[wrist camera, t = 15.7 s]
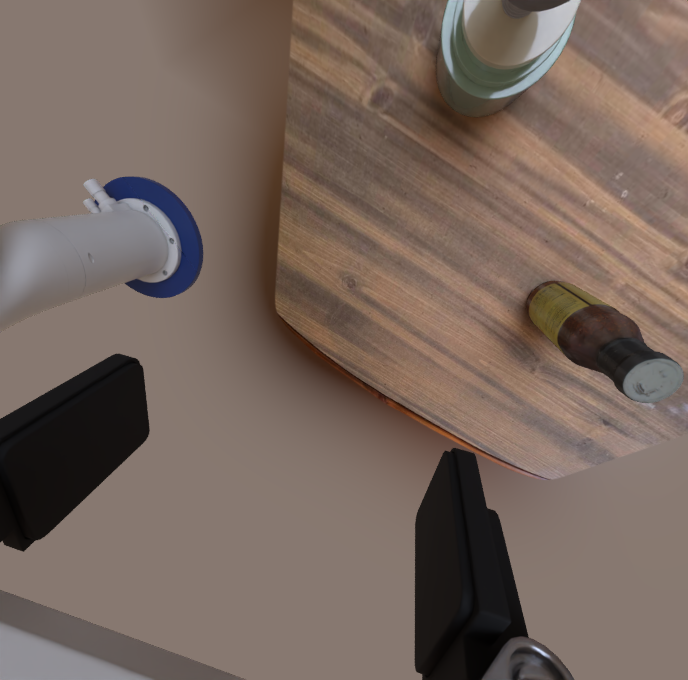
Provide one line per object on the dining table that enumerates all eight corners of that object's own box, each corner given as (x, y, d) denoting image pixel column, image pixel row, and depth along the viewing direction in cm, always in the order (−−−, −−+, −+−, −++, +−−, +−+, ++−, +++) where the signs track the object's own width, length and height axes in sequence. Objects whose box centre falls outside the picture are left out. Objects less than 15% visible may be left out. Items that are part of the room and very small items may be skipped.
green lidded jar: (418, 48, 35) (419, -21, 23) (513, -35, 31) (573, -168, 19) (462, 138, 38) (483, 117, 26) (555, 71, 34) (631, 11, 22)
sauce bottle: (524, 326, 45) (592, 419, 28) (524, 281, 43) (599, 351, 25) (579, 321, 44) (690, 415, 26) (582, 274, 41) (707, 342, 24)
